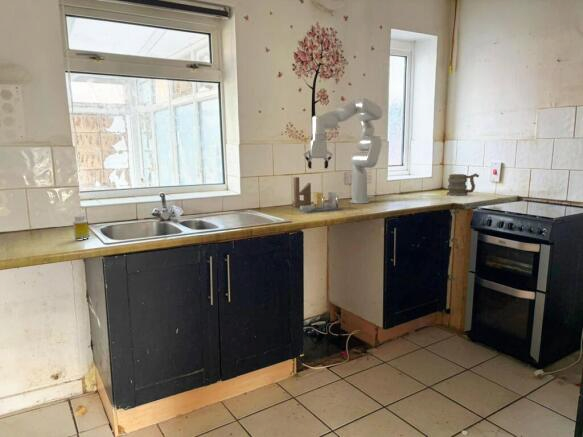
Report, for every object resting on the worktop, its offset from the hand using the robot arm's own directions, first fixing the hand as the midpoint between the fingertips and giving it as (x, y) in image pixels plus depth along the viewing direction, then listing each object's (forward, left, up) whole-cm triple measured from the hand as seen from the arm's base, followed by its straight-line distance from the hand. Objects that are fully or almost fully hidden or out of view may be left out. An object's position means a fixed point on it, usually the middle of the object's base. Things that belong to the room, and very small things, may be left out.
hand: (318, 168), depth 251 cm
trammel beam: (+2, +4, -22) cm, 23 cm away
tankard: (-113, -3, -24) cm, 115 cm away
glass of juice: (+124, +21, -24) cm, 128 cm away
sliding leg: (+1, +4, -22) cm, 22 cm away
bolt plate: (+1, +3, -24) cm, 24 cm away
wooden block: (+3, -16, -24) cm, 29 cm away
